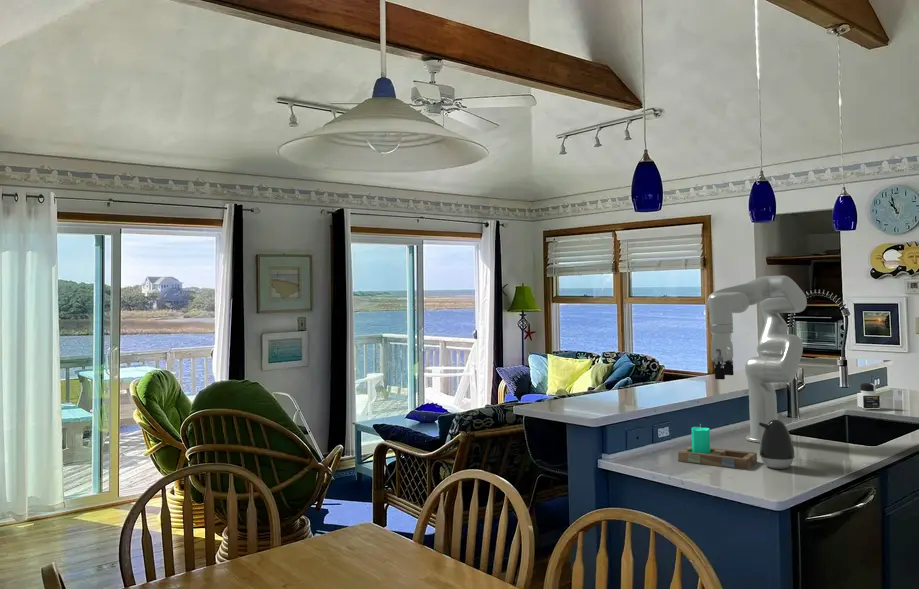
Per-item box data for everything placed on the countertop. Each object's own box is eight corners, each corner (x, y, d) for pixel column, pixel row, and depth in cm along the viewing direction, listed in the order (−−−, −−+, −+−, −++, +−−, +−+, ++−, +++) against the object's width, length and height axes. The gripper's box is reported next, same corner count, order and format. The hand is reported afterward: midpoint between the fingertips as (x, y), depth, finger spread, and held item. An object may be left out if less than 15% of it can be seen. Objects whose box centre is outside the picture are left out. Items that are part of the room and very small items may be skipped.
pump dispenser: (754, 463, 224) (752, 417, 224) (786, 462, 224) (784, 416, 224) (767, 471, 214) (765, 422, 214) (800, 470, 214) (799, 422, 214)
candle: (688, 458, 234) (687, 423, 234) (702, 456, 236) (700, 421, 236) (701, 462, 228) (699, 426, 229) (714, 459, 231) (713, 424, 231)
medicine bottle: (863, 410, 316) (862, 384, 316) (857, 408, 323) (856, 382, 323) (880, 410, 315) (879, 384, 315) (873, 407, 322) (872, 382, 322)
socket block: (691, 454, 240) (690, 445, 240) (756, 461, 226) (756, 452, 227) (678, 461, 230) (677, 452, 230) (746, 469, 217) (745, 460, 217)
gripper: (718, 326, 251) (721, 373, 251) (702, 331, 237) (705, 380, 237) (740, 326, 246) (742, 373, 246) (724, 331, 232) (727, 381, 233)
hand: (724, 377), depth 242 cm, fingers open, 9 cm apart
